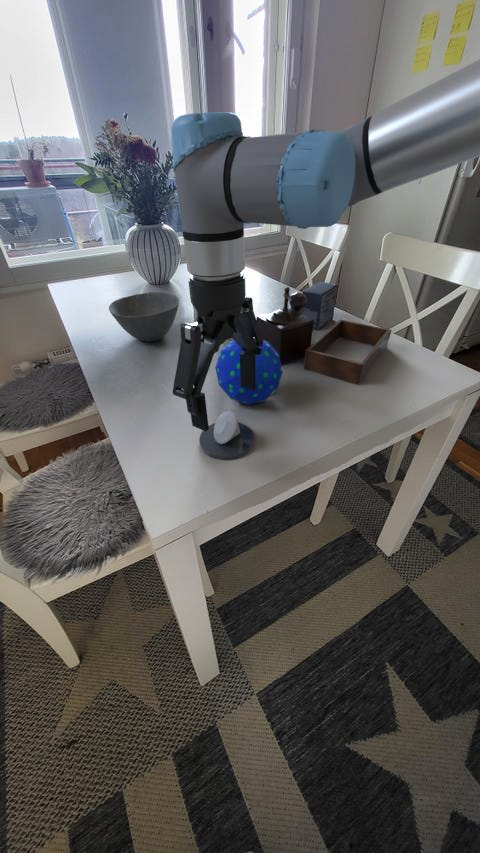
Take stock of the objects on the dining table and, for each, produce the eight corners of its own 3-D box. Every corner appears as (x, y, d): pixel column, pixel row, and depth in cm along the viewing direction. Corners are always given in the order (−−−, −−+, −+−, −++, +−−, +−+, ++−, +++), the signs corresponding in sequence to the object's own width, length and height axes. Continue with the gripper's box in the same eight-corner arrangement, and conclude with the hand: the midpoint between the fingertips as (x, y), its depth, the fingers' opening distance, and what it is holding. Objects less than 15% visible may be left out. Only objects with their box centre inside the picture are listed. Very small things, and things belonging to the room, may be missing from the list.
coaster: (264, 435, 64) (264, 432, 64) (233, 467, 58) (233, 464, 57) (221, 417, 69) (221, 414, 68) (188, 446, 62) (187, 443, 62)
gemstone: (257, 425, 61) (236, 416, 58) (241, 455, 62) (219, 448, 59) (239, 412, 66) (219, 403, 63) (225, 440, 67) (204, 433, 64)
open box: (386, 347, 91) (391, 329, 88) (358, 385, 77) (363, 365, 74) (337, 336, 97) (340, 319, 94) (303, 369, 83) (305, 350, 80)
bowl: (174, 320, 109) (169, 287, 103) (191, 343, 96) (187, 307, 89) (113, 331, 104) (104, 297, 97) (123, 357, 90) (113, 320, 84)
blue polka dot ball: (252, 335, 80) (273, 315, 66) (278, 390, 82) (305, 382, 67) (198, 360, 77) (208, 346, 63) (226, 417, 79) (242, 415, 64)
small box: (314, 314, 110) (318, 280, 103) (333, 319, 107) (338, 283, 100) (298, 326, 103) (301, 290, 97) (318, 330, 100) (323, 294, 94)
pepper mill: (252, 351, 91) (252, 279, 80) (285, 340, 96) (289, 271, 85) (290, 375, 81) (296, 297, 70) (325, 362, 86) (336, 287, 74)
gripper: (245, 250, 55) (247, 369, 68) (122, 296, 39) (157, 439, 52) (287, 255, 51) (281, 379, 65) (171, 307, 35) (195, 457, 49)
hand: (226, 406), depth 58 cm, fingers open, 13 cm apart
